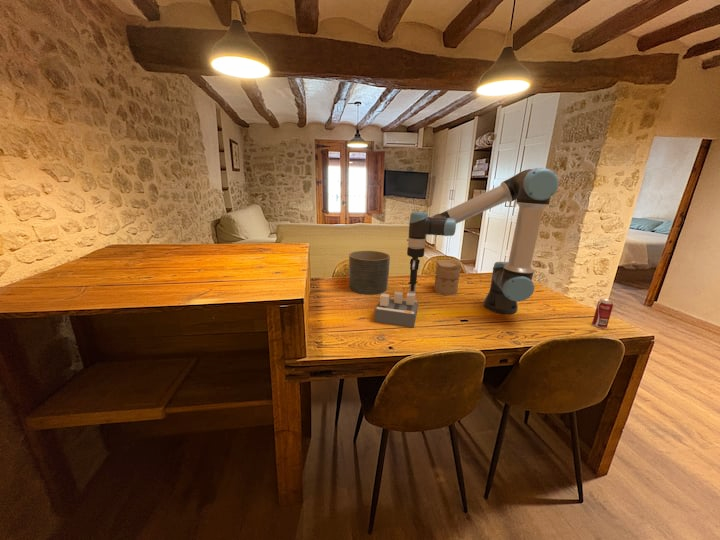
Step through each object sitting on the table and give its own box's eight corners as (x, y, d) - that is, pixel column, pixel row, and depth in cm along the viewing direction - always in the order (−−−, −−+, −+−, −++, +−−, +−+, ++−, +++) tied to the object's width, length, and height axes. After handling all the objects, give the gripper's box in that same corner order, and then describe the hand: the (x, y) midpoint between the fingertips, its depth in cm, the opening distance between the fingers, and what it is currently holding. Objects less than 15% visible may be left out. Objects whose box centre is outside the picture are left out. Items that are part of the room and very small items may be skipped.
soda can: (592, 322, 136) (598, 297, 133) (606, 325, 133) (614, 300, 129) (591, 326, 132) (598, 300, 129) (606, 329, 129) (614, 304, 126)
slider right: (414, 302, 135) (415, 293, 134) (414, 305, 132) (414, 296, 131) (407, 301, 136) (407, 292, 135) (406, 304, 133) (406, 295, 132)
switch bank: (417, 312, 140) (418, 299, 139) (413, 327, 126) (415, 313, 124) (381, 307, 144) (382, 295, 143) (374, 321, 130) (375, 308, 128)
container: (453, 299, 158) (457, 266, 153) (430, 294, 164) (433, 262, 159) (459, 292, 168) (463, 261, 163) (437, 288, 174) (440, 258, 169)
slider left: (388, 303, 133) (389, 294, 132) (387, 306, 130) (388, 297, 129) (381, 302, 134) (381, 293, 133) (379, 305, 131) (380, 296, 130)
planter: (390, 286, 175) (393, 252, 170) (383, 299, 155) (385, 262, 149) (354, 281, 181) (355, 249, 175) (343, 294, 160) (343, 257, 155)
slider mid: (402, 301, 137) (403, 292, 135) (401, 304, 134) (402, 294, 132) (395, 300, 138) (395, 291, 136) (393, 303, 134) (394, 293, 133)
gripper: (409, 243, 140) (405, 291, 146) (405, 249, 128) (402, 300, 134) (425, 245, 138) (421, 292, 145) (423, 250, 126) (418, 302, 133)
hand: (411, 296), depth 140 cm, fingers closed
